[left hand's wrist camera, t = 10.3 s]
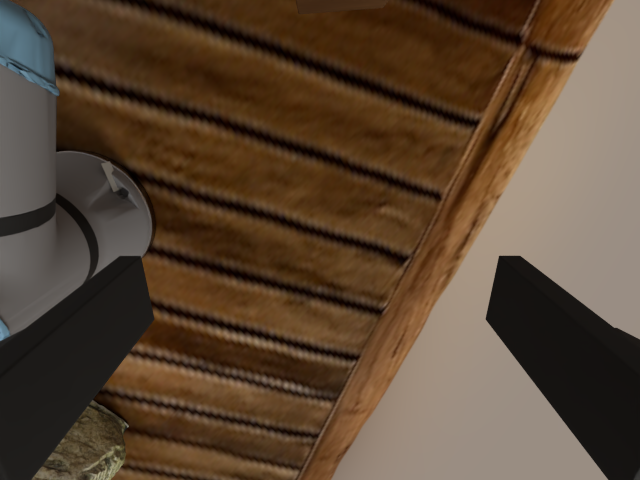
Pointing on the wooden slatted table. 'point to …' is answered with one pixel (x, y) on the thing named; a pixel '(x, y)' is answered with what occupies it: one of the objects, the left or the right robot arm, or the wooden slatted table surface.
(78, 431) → the fossil
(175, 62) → the wooden slatted table surface
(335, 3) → the box
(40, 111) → the left robot arm
